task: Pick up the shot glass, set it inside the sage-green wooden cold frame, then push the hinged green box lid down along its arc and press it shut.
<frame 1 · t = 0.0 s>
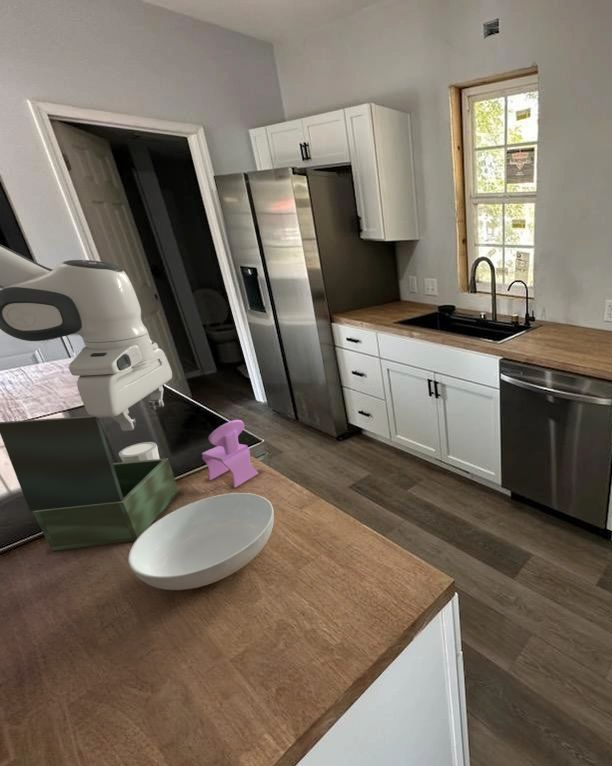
hand: (144, 418, 81), 21 cm above the worktop, tool pointing down, fingers open, 8 cm apart
green box lid: (63, 463, 72), point 18 cm above the worktop, hinge at 85.0°
toy chair: (233, 477, 99), on the worktop
serving bowl: (215, 559, 75), on the worktop
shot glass: (147, 474, 99), on the worktop
cold frame: (121, 518, 84), on the worktop
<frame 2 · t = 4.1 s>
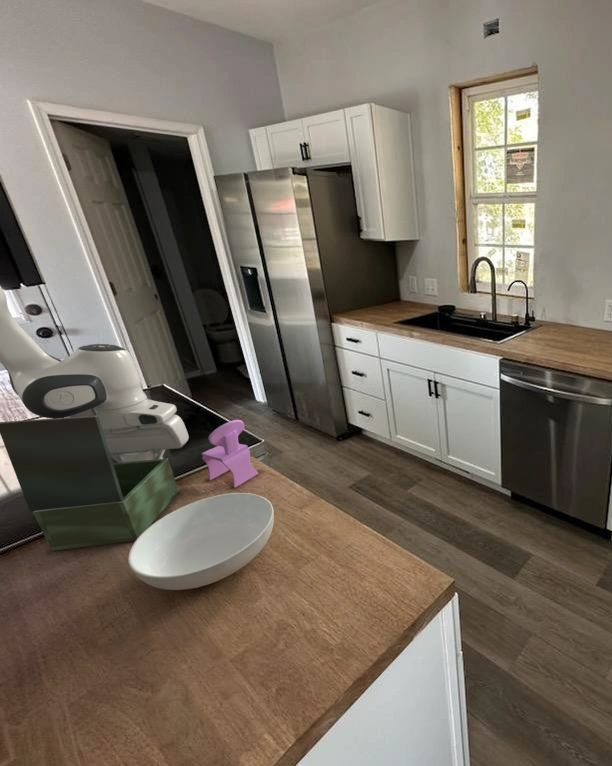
hand: (144, 465, 98), 2 cm above the worktop, tool pointing down, fingers closed on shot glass, 5 cm apart
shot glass: (147, 474, 99), on the worktop, touching gripper
everything else where it was.
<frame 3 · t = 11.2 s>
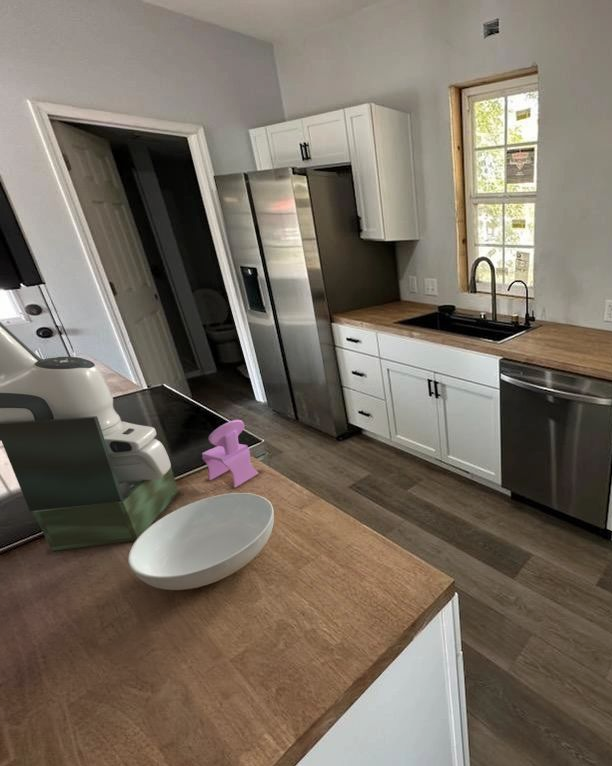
hand: (118, 499, 84), 4 cm above the worktop, tool pointing down, fingers closed on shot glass, 5 cm apart
green box lid: (63, 464, 71), point 18 cm above the worktop, hinge at 86.0°
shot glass: (121, 509, 85), point 2 cm above the worktop, touching gripper
everything else where it was.
when the fingers open (5 cm above the worktop, at t = 12.9 s): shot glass moves 2 cm, point 1 cm above the worktop.
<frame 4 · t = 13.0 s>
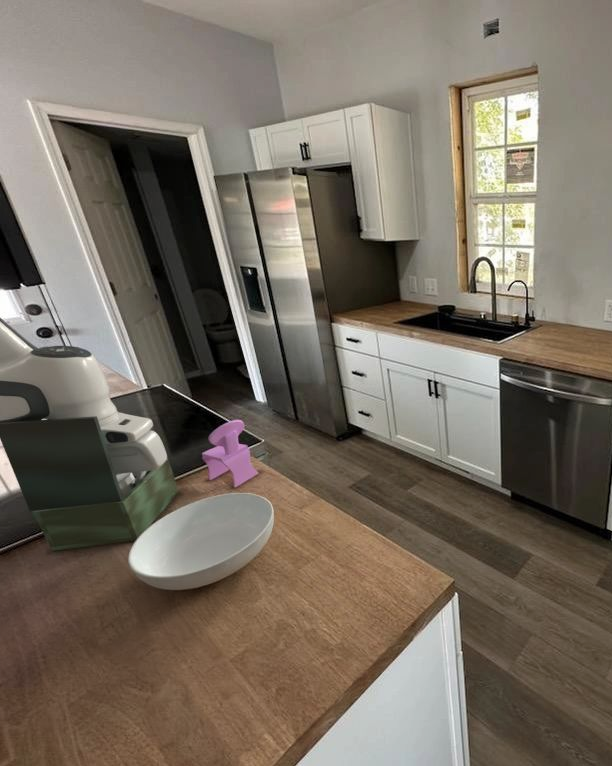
hand: (113, 490, 83), 6 cm above the worktop, tool pointing down, fingers open, 7 cm apart
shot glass: (132, 508, 85), point 1 cm above the worktop, touching gripper
everything else where it was.
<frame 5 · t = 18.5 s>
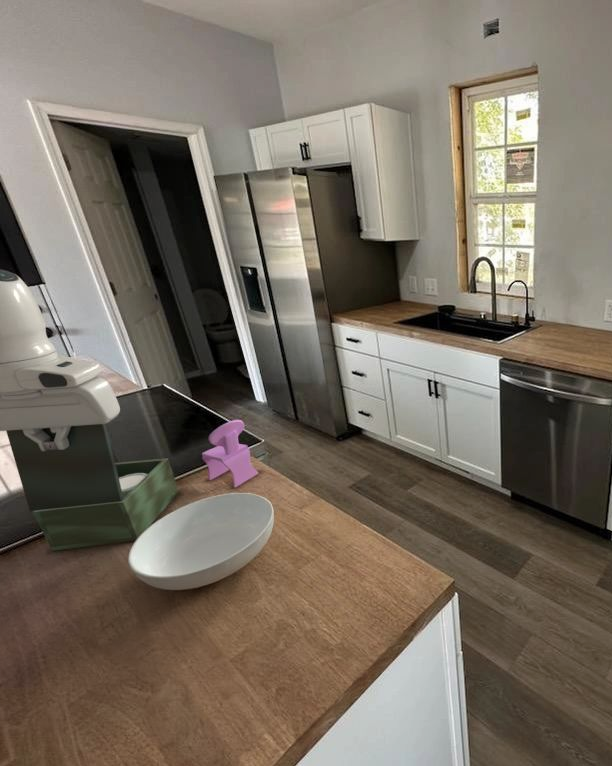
hand: (56, 448, 70), 21 cm above the worktop, tool pointing down, fingers closed, pressing on green box lid
green box lid: (66, 462, 72), point 17 cm above the worktop, hinge at 80.7°, touching gripper
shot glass: (138, 511, 86), point 1 cm above the worktop, touching cold frame
everything else where it was.
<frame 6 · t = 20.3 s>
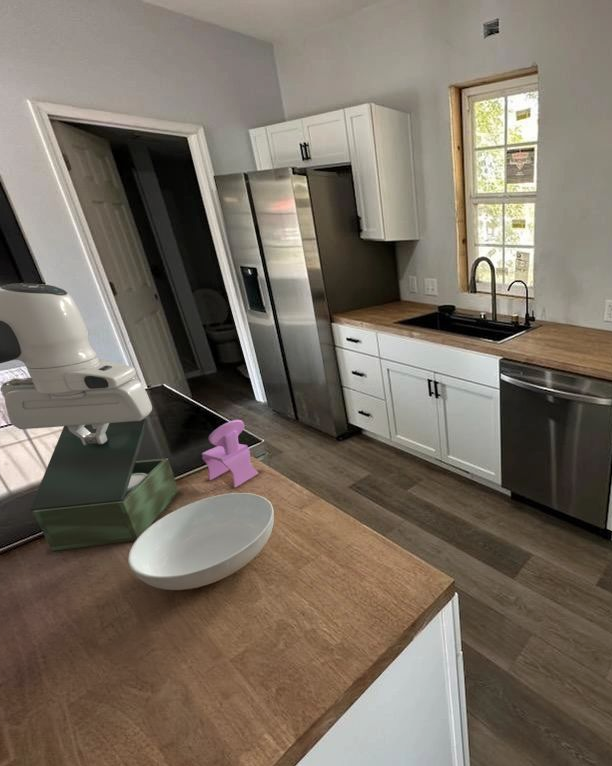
hand: (96, 443, 79), 17 cm above the worktop, tool pointing down, fingers closed
green box lid: (93, 461, 78), point 14 cm above the worktop, hinge at 37.8°, touching gripper
everything else where it was.
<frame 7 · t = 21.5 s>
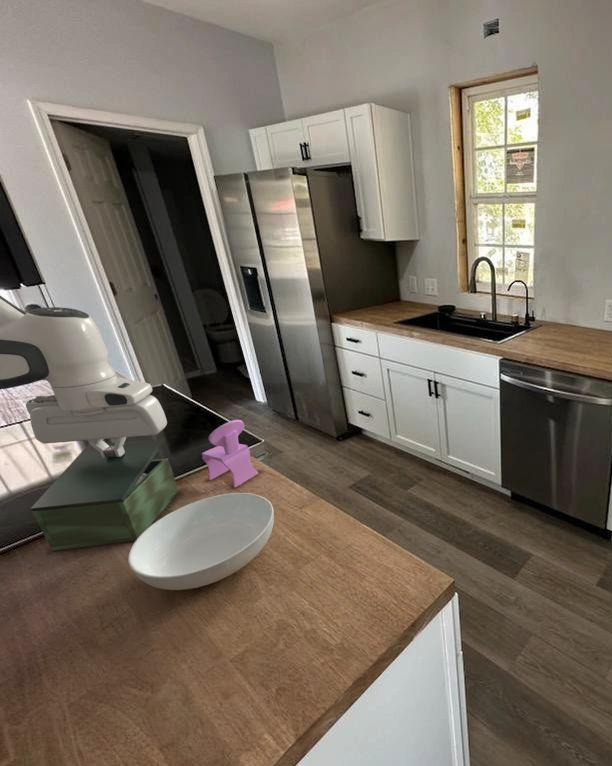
hand: (114, 455, 83), 13 cm above the worktop, tool pointing down, fingers closed
green box lid: (104, 471, 81), point 11 cm above the worktop, hinge at 12.8°, touching gripper
everything else where it was.
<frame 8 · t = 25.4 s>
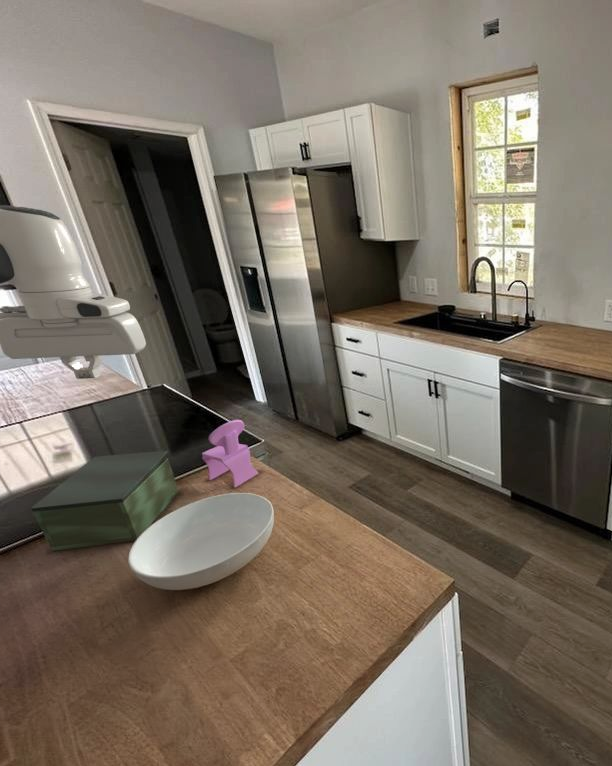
hand: (89, 377, 78), 29 cm above the worktop, tool pointing down, fingers closed
green box lid: (107, 477, 81), point 10 cm above the worktop, hinge at 1.9°
everything else where it was.
at the end: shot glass inside the target area in the cold frame (2.6 cm from its centre), point 0.6 cm above the cold frame's base; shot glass tilted 0°; green box lid at +2° (first picture: +85°) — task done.
